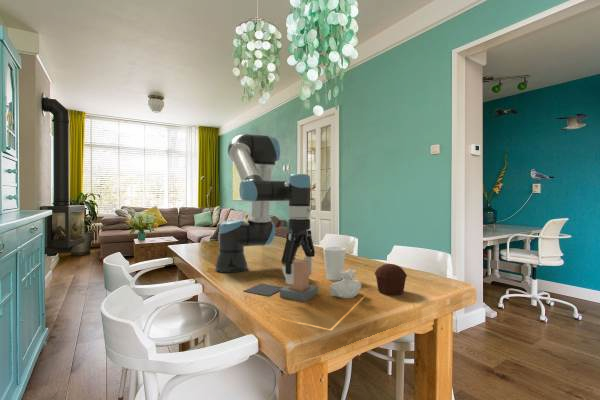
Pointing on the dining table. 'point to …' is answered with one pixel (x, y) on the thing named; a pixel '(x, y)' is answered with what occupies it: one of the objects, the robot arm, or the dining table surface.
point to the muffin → (390, 279)
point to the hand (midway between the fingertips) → (299, 278)
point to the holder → (299, 293)
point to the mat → (264, 289)
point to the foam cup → (334, 262)
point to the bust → (346, 285)
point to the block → (300, 275)
